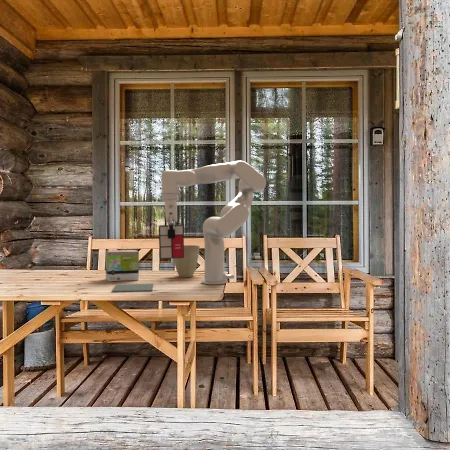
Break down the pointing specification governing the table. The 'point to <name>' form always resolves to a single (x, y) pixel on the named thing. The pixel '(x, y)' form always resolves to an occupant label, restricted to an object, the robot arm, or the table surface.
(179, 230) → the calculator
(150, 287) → the mat
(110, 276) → the tea box
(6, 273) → the table surface
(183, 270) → the plant pot
